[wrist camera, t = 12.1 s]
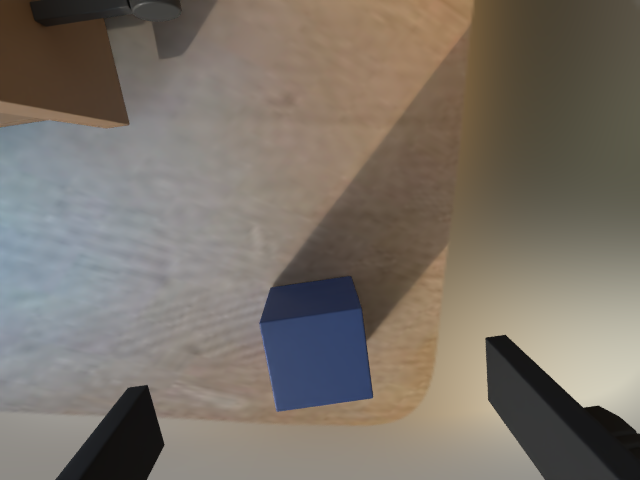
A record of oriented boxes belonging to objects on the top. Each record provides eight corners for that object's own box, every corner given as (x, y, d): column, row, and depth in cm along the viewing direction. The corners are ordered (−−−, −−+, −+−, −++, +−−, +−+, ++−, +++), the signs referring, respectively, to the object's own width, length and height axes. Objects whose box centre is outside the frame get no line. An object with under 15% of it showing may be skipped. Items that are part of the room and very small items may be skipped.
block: (360, 349, 22) (373, 398, 17) (283, 360, 22) (276, 412, 17) (351, 275, 21) (361, 307, 16) (270, 287, 21) (258, 322, 16)
